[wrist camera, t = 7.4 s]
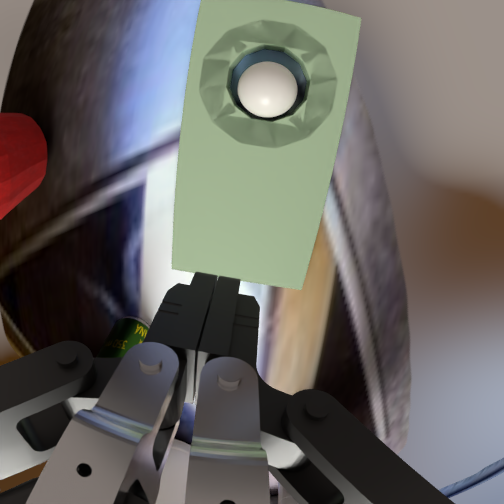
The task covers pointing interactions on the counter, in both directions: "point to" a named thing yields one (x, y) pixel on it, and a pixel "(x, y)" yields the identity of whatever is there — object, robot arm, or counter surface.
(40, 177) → the apple
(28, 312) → the counter surface
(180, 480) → the bottle
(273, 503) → the bowl
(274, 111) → the ball
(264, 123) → the green
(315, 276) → the counter surface
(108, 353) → the beer can
